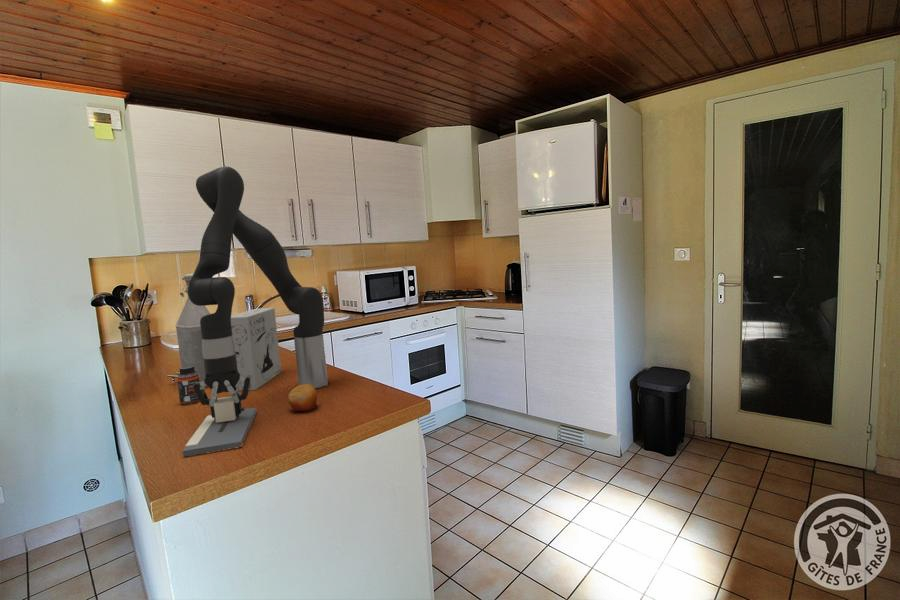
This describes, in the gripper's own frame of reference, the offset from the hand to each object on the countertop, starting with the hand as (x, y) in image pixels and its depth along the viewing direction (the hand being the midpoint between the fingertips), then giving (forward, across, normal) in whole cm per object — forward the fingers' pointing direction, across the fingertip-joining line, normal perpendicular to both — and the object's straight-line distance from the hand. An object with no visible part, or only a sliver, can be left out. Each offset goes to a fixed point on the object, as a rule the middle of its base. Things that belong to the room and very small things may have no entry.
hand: (227, 416), depth 117 cm
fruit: (+3, -19, -4) cm, 20 cm away
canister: (+2, +18, -50) cm, 53 cm away
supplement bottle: (+2, +16, -27) cm, 32 cm away
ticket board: (+2, 0, +5) cm, 5 cm away
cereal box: (+2, -2, -42) cm, 42 cm away
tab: (0, 0, 0) cm, 0 cm away
